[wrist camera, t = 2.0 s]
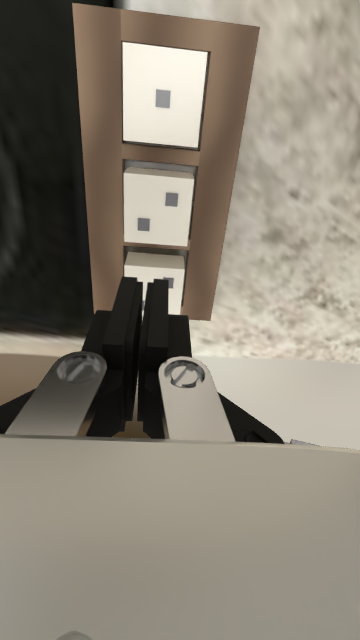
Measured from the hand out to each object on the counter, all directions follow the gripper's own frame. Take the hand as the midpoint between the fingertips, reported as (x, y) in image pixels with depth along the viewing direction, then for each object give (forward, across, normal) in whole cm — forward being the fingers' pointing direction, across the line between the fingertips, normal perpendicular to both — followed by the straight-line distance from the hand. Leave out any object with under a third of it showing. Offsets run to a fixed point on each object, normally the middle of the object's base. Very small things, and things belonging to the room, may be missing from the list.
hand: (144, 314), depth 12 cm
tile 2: (+17, 0, 0) cm, 17 cm away
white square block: (+17, 0, +7) cm, 19 cm away
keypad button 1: (+17, 0, -7) cm, 19 cm away
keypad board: (+19, 0, 0) cm, 19 cm away
